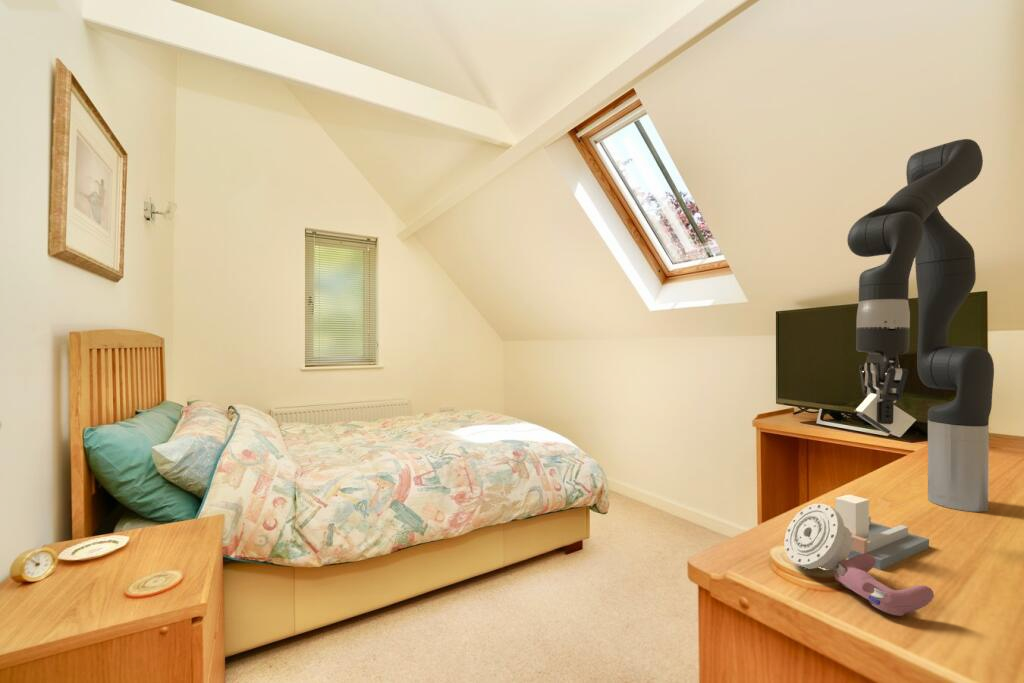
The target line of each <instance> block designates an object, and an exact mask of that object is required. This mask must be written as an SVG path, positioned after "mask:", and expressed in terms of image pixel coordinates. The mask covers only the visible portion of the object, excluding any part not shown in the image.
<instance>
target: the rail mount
mask: <svg viewBox="0 0 1024 683" xmlns="http://www.w3.org/2000/svg"><path fill="white" fill-rule="evenodd" d="M834 504H835V505H834V509H835V510H836V511H837V512H838V513H839V514H840V516H841V517H842V519H843V523H844V526H845V527H846V528H848V529H849V531H850V532H851V533H852V537H853V538H854V540H853V541H852V548H851V549H852V550H853V552H852V553H850V554H849V555H848V557H847V559H851V558H853V557H855V556H857V555H860V554H870V555H872V556H873V557H874V558H875V560H876V563H875V565H874V567H873V568H874V569H877V570H879V571H882V570H885V569H886V568H889V567H890V566H893V565H894V564H897V563H899V562H901V561H904V560H905V559H908V558H911V557H912V556H915V554H918V553H920V552H922V551H925V550H927V549H929V548H930V538H926V537H924V536H920V535H916V534H914V533H910V532H909V526H906V525H902V524H899V525H898V526H894V527H890V526H886V525H883V524H879V523H876V522H873V521H872V520H871V515H870V514H869V513H870V507H869V505H870V500H869V499H868V498H864V497H861V496H860V497H859V496H856V495H853V494H845V495H842V496H838V497H835V500H834ZM873 568H872V569H873Z"/></svg>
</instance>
